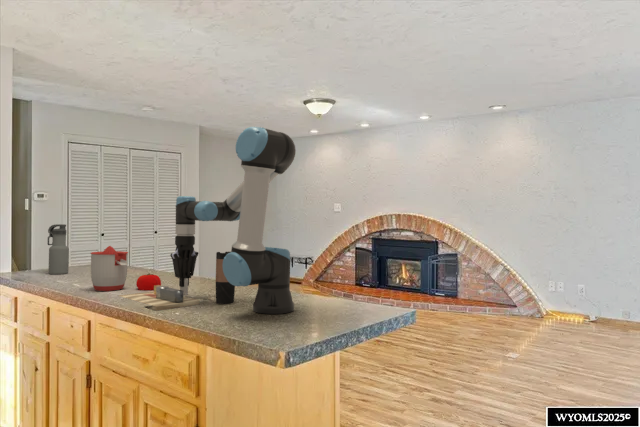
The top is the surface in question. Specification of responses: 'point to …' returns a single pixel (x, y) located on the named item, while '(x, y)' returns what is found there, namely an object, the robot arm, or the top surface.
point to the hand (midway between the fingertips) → (183, 294)
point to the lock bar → (169, 294)
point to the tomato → (148, 282)
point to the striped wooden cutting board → (159, 301)
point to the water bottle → (58, 250)
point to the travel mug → (223, 282)
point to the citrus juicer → (108, 269)
